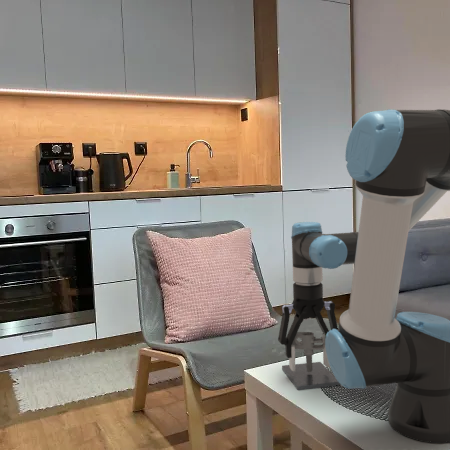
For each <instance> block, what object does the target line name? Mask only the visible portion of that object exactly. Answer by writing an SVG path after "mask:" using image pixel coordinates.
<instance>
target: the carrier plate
mask: <svg viewBox="0 0 450 450" xmlns="http://www.w3.org/2000/svg"><path fill="white" fill-rule="evenodd" d="M281 369H282V371H283V372H284V373H285V375H286V377H287V378H288V379H289V380H290V381H291V383H292V384H293V386H294V387H295V389H296V390H298V391H302V390H312V389H320V388H328V387H327V386H331V387H337V386H336V385H340V386H341V384H340V383H339V382H338V381H337V379H336V378H335V376H334V374H333V372H332V371H330V370H329V369H328V368H327V367H326V366H325V365H324V364H323V363H322V362H321V361H317V362H316V361H315V362H313V361H312V372H307V368H306V362H304V363H297V364H296V363H295V371H292V370H291V369H290V367H289V364H285V365H282V366H281Z"/></svg>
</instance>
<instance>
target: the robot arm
mask: <svg viewBox="0 0 450 450" xmlns="http://www.w3.org/2000/svg"><path fill="white" fill-rule="evenodd" d="M344 156H345V161H346V162H347V163H346V170H347V172H348V174H349V176H350V177H351V178H352V180H354V181H355V188H356V190H357V191H359V193H360V194H361V195H362V201H361V207H360V208H361V209H360V218H359V225H358V231H355V232H353V231H352V232H340V233H323V231H322V230H323V229H322V225H321V223H320V222H318V221H303V222H295V223H293V224H292V227H291V236H290V238H291V253H292V254H291V255H292V256H291V257H292V281H293V282H294V283H293V284H292V290H293V291H292V294H293V295H292V296H293V300H292V303H290V304H282V305H281V312H282V313H281V314H282V315H281V320H280V324H279V325H280V327H279V333H278V338H277V341H278V342H279V343H280V345H284V346H285V348H284V349H285V356H286V358H287V359H288V360H289V361H288V362H289V363H288V365H289V367H290V369H291V370H292V371H295V364H296V349H295V346H294V345H293V344H292V343H293V341H294V339H295V336H296V334H297V332H299V329H300V326H301V325H302V323H303V321H304V320H308V319H315V320H316V322H317V324H318V326H319V328H320V330H321V332H322V334H323V333H325V336H326V338H325V348H324V349H322V357H323V358H322V359H323V363H322V364H323V365H324V366H325V367H326V368H327V369H328V368H330V370H331V373H332V374H333V375H334V376H335V378H336V379H337V381H338V382H339V383H340V386H342V387H344V388H345V389H348V390H349V389H366V388H370V387H376V386H383V385H391V384H396V387H395V390H394V393H393V395H392V398H391V402H390V405H389V407H388V410H387V411H388V423H389V426H390V427H391V428H392V429H393V430H394V431H396V432H397V433H399V434H401V435H402V436H405V437H407V438H410V439H413V440H416V441H420V442H427V443H434V444H439V443H441V444H442V443H443V444H444V443H445V444H446V443H450V319H448V318H445V317H443V316H440V315H435V314H432V313H426V312H419V311H401V312H399V313H397V314H396V311H397V304H398V298H399V292H400V291H399V290H400V286H401V281H402V273H403V267H404V261H405V255H406V249H407V243H408V236H409V232H410V231H411V229H413V227H414V226H415V225H417V223H418V222H420V221H421V219H422V218H423V217H425V215H426V214H427V213H428V212H429V211H430V210H431V209H432V208H433V206H435V205H436V203H437V202H438V201H439V200H441V198H442V197H443V196H445V194H446V193H447V192H450V109H440V108H439V109H390V108H388V109H385V110H375V111H371V112H367V113H365V114H363V115H361V116H360V117H359V119H358V121H356V122H355V123H354V125H353V127H352V129H351V130H350V132H349V135H348V139H347V142H346V147H345V155H344ZM342 265H343V266H344V265H353V272H352V273H353V274H352V281H351V287H350V289H351V290H350V296H349V297H350V298H349V305H348V309H347V310H345V311H343V312H342V313H341V315H340V317H339V323H338V322H337V319H336V314H335V308H336V304H335V302H333V301H332V300H328V301H324V298H323V297H324V296H323V295H324V293H323V292H324V289H323V288H324V287H323V286H324V285H323V283H322V282H323V269H328V270H329V269H330V270H335V269H338V268H340V266H342ZM323 309H325V311H326V314H327V319H328V323H329V324H328V325H329V327H330V330H329V328H328V326H327V324H326V322H325V320H324V317H323V315H322V314H321V312H322V310H323ZM293 310H294V311H295V314H294V316H293V321H292V323H291V326H290V328H288V327H289V323H290V315H291V314H292V311H293ZM395 316H396V317H395Z"/></svg>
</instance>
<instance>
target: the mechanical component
mask: <svg viewBox="0 0 450 450" xmlns="http://www.w3.org/2000/svg"><path fill="white" fill-rule="evenodd" d="M325 338H326V336H325V333H323V332H322V336H320V338H316V336H315V335H314V332H312V331H298V332H297V334H296V336H295V339H294V341H293V343H292V344H293V345H294V346H295V350H303V354H304V356H305V363H306V368H307V372H312V363H313V355H314V354H315V352H314V351H315V350H322V351H323V349H324V348H325ZM298 339H301V340H299V341H298ZM316 343H317V344H316Z"/></svg>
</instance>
